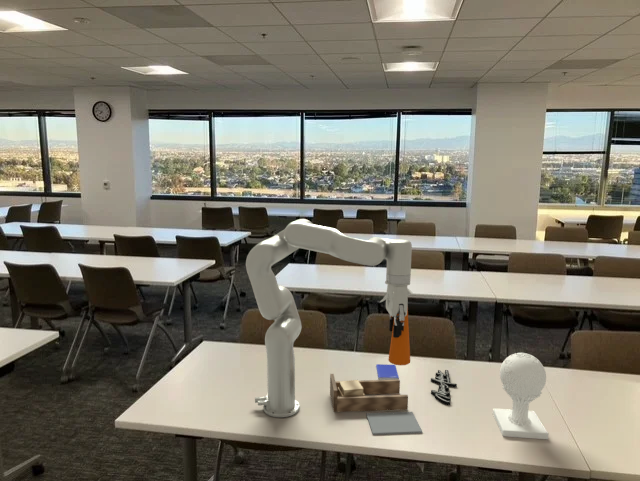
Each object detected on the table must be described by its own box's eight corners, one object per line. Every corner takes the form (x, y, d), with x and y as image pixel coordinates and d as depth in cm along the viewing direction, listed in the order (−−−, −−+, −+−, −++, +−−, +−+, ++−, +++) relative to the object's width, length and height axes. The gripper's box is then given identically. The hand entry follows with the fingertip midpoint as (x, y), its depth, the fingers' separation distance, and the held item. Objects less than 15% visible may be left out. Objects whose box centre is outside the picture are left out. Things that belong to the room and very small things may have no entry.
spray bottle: (381, 353, 158) (383, 276, 154) (412, 359, 154) (416, 280, 150) (374, 361, 152) (377, 281, 148) (407, 367, 147) (411, 285, 143)
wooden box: (333, 412, 163) (333, 390, 162) (330, 393, 176) (330, 373, 174) (407, 409, 165) (408, 388, 164) (398, 391, 178) (399, 371, 176)
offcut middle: (342, 403, 165) (342, 396, 165) (337, 393, 172) (337, 387, 172) (364, 401, 167) (364, 394, 166) (358, 391, 174) (358, 385, 173)
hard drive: (399, 377, 187) (395, 364, 199) (378, 377, 187) (376, 364, 200) (399, 381, 187) (395, 368, 200) (378, 380, 188) (375, 367, 200)
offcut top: (344, 397, 165) (344, 390, 164) (338, 387, 171) (339, 381, 171) (363, 395, 166) (363, 388, 166) (357, 386, 173) (357, 379, 172)
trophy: (501, 436, 149) (508, 362, 145) (491, 413, 163) (496, 345, 159) (548, 440, 148) (556, 365, 143) (533, 416, 161) (540, 347, 157)
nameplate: (461, 403, 167) (432, 400, 169) (460, 407, 167) (432, 404, 169) (453, 370, 194) (428, 368, 196) (453, 373, 194) (428, 371, 196)
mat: (372, 434, 149) (372, 433, 149) (366, 414, 161) (366, 413, 161) (422, 432, 151) (422, 431, 151) (412, 413, 162) (412, 411, 162)
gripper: (380, 272, 156) (379, 325, 159) (392, 285, 139) (390, 344, 142) (403, 272, 157) (401, 324, 160) (417, 285, 140) (414, 343, 143)
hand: (396, 333), depth 151 cm, fingers closed on spray bottle, 4 cm apart
